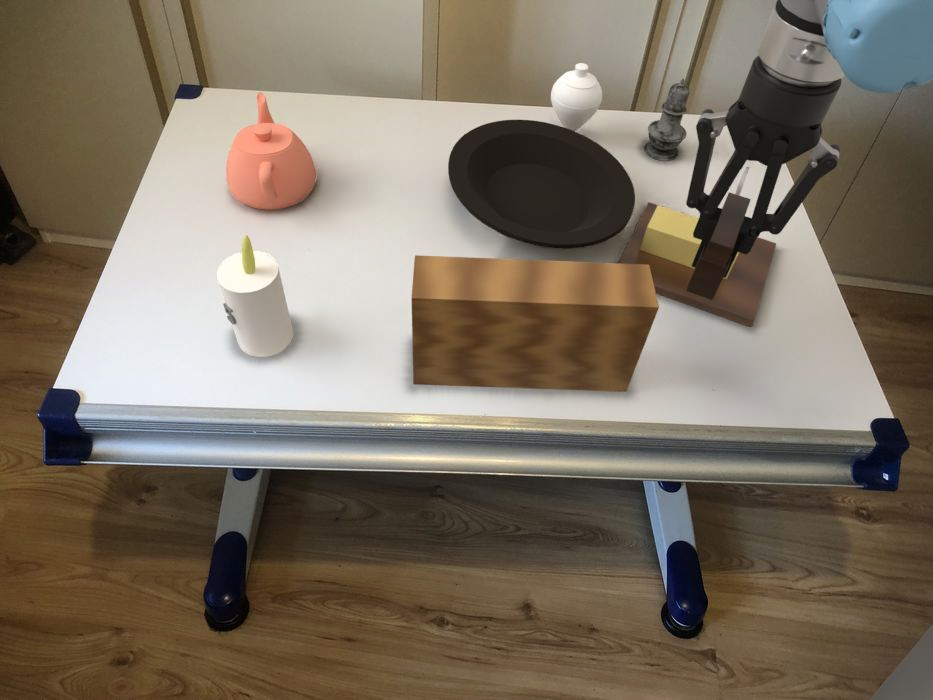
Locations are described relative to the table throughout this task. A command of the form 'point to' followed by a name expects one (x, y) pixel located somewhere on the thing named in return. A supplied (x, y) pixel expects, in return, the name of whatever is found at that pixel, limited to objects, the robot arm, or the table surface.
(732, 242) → the brown and grey bar
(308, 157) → the teapot
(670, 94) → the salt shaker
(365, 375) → the table surface
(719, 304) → the board
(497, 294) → the wood grain block
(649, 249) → the butter block
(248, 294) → the candle
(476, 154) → the plate
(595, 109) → the spinning top
